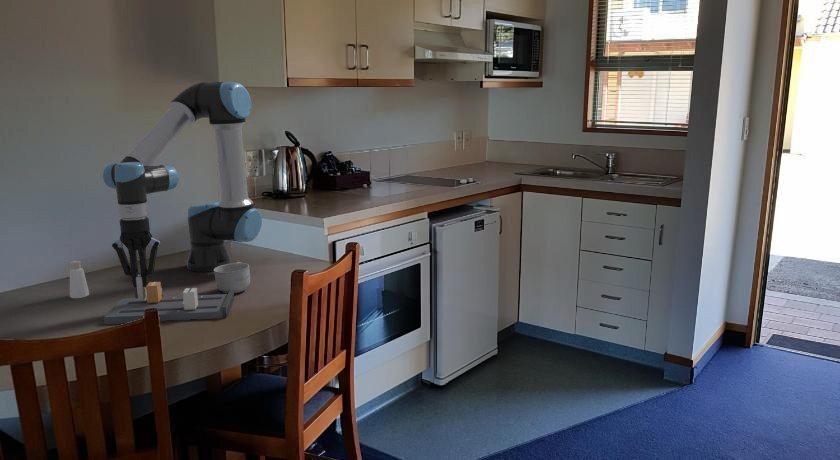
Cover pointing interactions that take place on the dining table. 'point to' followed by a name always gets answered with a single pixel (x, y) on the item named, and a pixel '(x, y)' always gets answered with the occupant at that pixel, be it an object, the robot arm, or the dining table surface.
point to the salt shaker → (78, 281)
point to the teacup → (232, 277)
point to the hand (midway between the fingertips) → (142, 297)
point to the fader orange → (153, 292)
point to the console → (172, 308)
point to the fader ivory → (190, 298)
